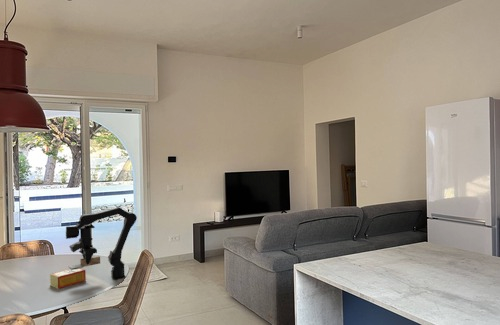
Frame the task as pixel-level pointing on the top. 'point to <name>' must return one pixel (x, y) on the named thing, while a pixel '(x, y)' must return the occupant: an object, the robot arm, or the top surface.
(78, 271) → the baking soda box
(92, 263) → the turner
